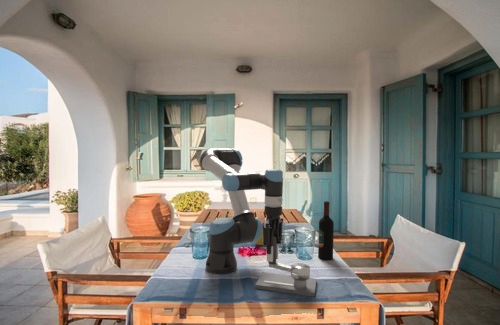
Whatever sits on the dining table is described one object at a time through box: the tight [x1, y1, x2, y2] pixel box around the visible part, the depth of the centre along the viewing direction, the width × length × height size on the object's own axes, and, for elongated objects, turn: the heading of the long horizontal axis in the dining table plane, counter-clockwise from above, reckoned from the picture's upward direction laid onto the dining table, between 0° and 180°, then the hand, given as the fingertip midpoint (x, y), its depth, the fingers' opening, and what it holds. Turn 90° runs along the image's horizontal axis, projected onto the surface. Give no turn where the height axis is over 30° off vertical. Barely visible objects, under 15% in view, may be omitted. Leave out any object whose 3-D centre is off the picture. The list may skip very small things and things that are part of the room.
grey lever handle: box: [267, 237, 311, 281], centre depth 123 cm, size 18×11×14 cm, turn 57°
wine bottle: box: [317, 201, 335, 262], centre depth 156 cm, size 8×8×30 cm
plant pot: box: [255, 226, 270, 246], centre depth 180 cm, size 10×10×10 cm
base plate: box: [254, 271, 317, 297], centre depth 125 cm, size 24×13×6 cm, turn 74°
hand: (272, 259), depth 127 cm, fingers closed on grey lever handle, 3 cm apart
